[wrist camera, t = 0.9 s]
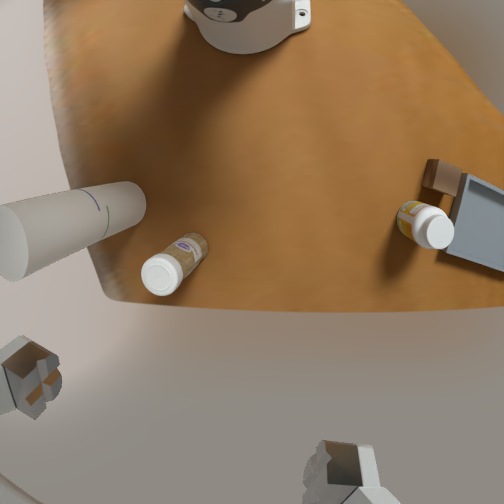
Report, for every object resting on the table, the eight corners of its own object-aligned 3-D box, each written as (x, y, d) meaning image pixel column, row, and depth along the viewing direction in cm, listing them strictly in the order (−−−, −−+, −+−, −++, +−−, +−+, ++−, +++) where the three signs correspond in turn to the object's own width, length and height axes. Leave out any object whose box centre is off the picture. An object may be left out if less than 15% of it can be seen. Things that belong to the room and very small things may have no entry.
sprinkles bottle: (210, 234, 46) (179, 262, 33) (206, 264, 47) (176, 301, 34) (180, 229, 46) (140, 254, 33) (177, 258, 47) (139, 292, 34)
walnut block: (427, 159, 39) (439, 159, 35) (449, 168, 39) (462, 169, 35) (421, 185, 40) (432, 187, 36) (443, 193, 40) (455, 196, 36)
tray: (460, 172, 38) (467, 173, 36) (526, 205, 38) (534, 207, 35) (439, 248, 42) (446, 252, 40) (506, 271, 41) (514, 275, 39)
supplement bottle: (421, 241, 42) (450, 260, 33) (391, 230, 42) (415, 247, 33) (433, 207, 41) (464, 219, 31) (402, 194, 41) (430, 203, 31)
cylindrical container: (132, 172, 45) (7, 190, 21) (154, 213, 46) (39, 262, 22) (100, 196, 46) (-22, 229, 22) (120, 234, 47) (6, 292, 24)
